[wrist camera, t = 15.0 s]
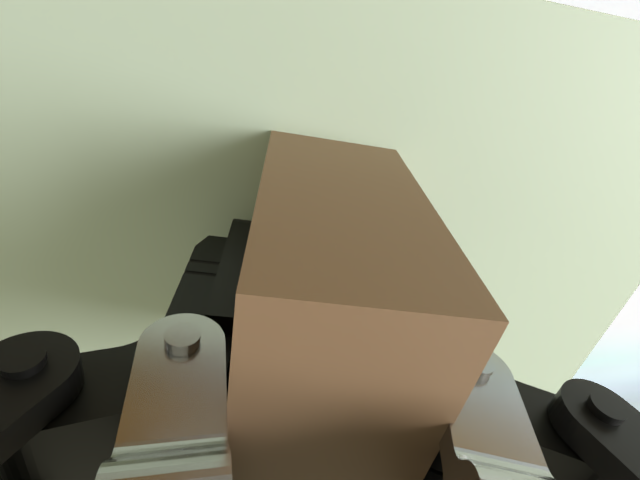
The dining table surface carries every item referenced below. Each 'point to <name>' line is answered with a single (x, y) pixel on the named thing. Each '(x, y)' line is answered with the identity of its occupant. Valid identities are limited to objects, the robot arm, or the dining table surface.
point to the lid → (327, 200)
